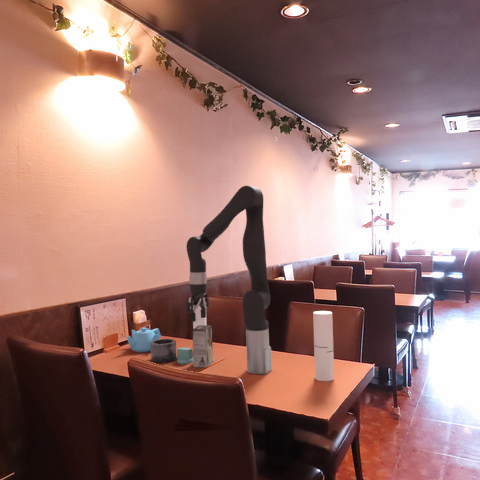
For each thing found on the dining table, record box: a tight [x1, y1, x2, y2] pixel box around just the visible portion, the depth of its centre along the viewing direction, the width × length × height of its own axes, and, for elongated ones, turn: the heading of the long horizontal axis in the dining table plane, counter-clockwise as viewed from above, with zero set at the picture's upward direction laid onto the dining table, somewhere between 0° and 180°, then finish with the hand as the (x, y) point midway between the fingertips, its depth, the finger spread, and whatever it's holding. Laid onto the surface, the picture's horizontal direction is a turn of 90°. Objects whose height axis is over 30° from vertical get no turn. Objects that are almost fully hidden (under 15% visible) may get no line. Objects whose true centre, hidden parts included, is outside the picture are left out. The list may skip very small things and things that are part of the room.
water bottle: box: [192, 306, 208, 330], centre depth 206 cm, size 9×6×25 cm
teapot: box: [126, 326, 162, 353], centre depth 211 cm, size 15×15×11 cm
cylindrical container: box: [312, 310, 335, 382], centre depth 161 cm, size 7×7×25 cm
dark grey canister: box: [150, 338, 177, 364], centre depth 192 cm, size 11×11×8 cm
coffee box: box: [191, 324, 214, 368], centre depth 183 cm, size 9×6×16 cm
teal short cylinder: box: [176, 346, 194, 365], centre depth 187 cm, size 7×7×6 cm
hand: (198, 319), depth 184 cm, fingers open, 8 cm apart
